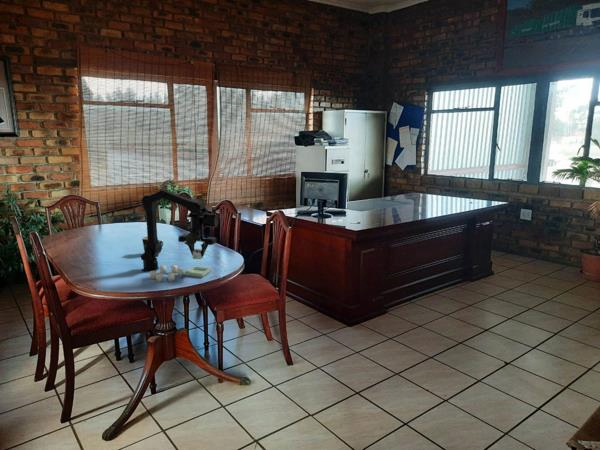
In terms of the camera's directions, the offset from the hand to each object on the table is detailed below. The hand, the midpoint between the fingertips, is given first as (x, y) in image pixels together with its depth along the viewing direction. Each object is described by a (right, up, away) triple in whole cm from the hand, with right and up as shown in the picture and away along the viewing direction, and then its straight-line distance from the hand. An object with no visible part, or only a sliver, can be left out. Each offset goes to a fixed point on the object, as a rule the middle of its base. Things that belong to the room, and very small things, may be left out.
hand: (197, 255), depth 226 cm
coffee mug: (-35, -2, +34) cm, 48 cm away
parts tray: (0, -9, +2) cm, 10 cm away
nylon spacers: (-15, -10, -4) cm, 18 cm away
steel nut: (0, -1, 0) cm, 1 cm away
